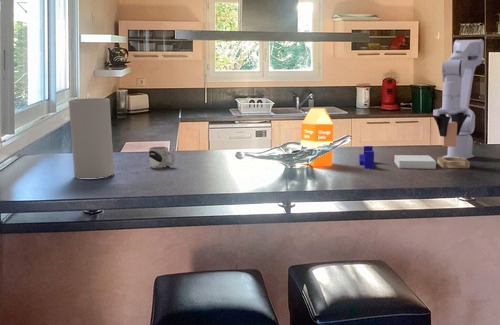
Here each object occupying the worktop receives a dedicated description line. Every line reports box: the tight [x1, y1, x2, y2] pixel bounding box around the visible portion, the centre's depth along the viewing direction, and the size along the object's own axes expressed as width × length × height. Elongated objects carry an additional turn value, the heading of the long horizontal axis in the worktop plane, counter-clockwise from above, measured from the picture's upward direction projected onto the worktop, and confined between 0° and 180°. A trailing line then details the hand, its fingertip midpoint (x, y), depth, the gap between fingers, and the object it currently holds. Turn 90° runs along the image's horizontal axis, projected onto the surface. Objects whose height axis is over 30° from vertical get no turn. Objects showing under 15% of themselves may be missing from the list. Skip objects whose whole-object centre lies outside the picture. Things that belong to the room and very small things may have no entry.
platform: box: [394, 154, 437, 170], centre depth 187 cm, size 12×11×2 cm
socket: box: [436, 156, 471, 169], centre depth 185 cm, size 9×9×2 cm
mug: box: [148, 146, 176, 167], centre depth 189 cm, size 10×7×7 cm, turn 62°
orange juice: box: [300, 107, 334, 167], centre depth 189 cm, size 8×9×20 cm
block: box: [441, 122, 457, 148], centre depth 184 cm, size 4×4×8 cm
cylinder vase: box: [68, 97, 115, 179], centre depth 174 cm, size 12×12×25 cm
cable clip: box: [358, 145, 375, 170], centre depth 188 cm, size 12×4×6 cm, turn 170°
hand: (449, 135), depth 184 cm, fingers closed on block, 6 cm apart
